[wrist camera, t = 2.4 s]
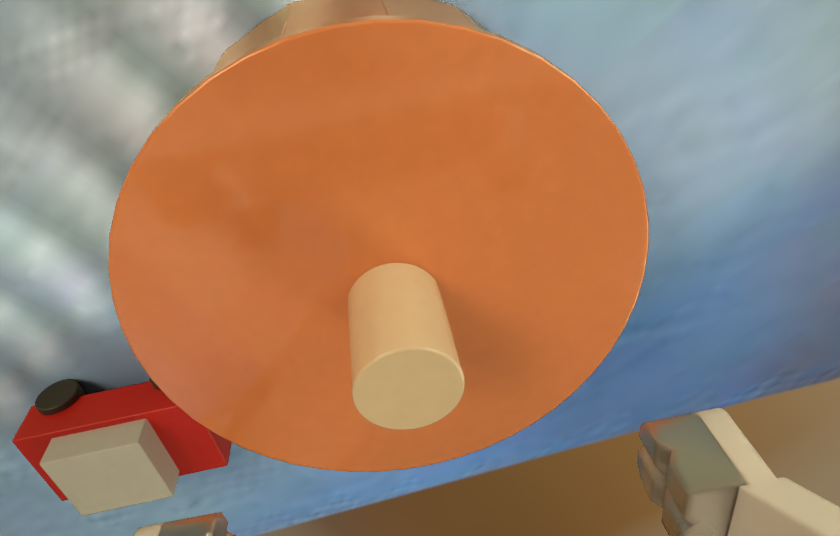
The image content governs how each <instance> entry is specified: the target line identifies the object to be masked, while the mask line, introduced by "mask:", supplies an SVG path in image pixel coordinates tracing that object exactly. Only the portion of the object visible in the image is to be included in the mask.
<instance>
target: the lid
mask: <svg viewBox="0 0 840 536" xmlns="http://www.w3.org/2000/svg"><path fill="white" fill-rule="evenodd" d="M648 248H649V218H648V212H647V205H646V199H645V193H644V187H643V184H642V181H641V178H640V175H639V172H638V169H637V166H636V163H635V160H634V158H633V156H632V154H631V152H630V150H629V148H628V146H627V144H626V142H625V140H624V139H623V137H622V135H621V133H620V131H619V129H618V128H617V127H616V125H615V124H614V123H613V121H612V120H611V119H610V117H609V116H608V115H607V114H606V112H605V111H604V110H603V108H602V107H601V106H600V104H599V103H598V102H597V101H596V100H595V99H594V98H593V97H592V96H591V95H590V94H589V93H587V92H586V91H585V90H584V89H583V88H582V87H581V86H580V85H579V84H578V83H577V82H576V81H575V80H574V79H573V78H572V77H570V76H569V75H568V74H566V73H565V72H564V71H562V70H561V69H559V68H558V67H556V66H555V65H553V64H552V63H551V62H549V61H548V60H546V59H545V58H543V57H542V56H540V55H539V54H538V53H536V52H534V51H532V50H530V49H528V48H526V47H524V46H522V45H520V44H518V43H516V42H514V41H512V40H510V39H507V38H505V37H503V36H501V35H499V34H495V33H492V32H489V31H486V30H483V29H479V28H476V27H473V26H470V25H467V24H463V23H460V22H453V21H447V20H441V19H435V18H428V17H422V16H389V15H373V16H365V17H357V18H349V19H341V20H333V21H328V22H325V23H321V24H317V25H313V26H310V27H306V28H302V29H299V30H295V31H291V32H288V33H285V34H283V35H281V36H279V37H276V38H274V39H272V40H269V41H267V42H265V43H262V44H260V45H258V46H255V47H253V48H251V49H248V50H247V51H245V52H243V53H242V54H240V55H239V56H237V57H235V58H234V59H232V60H230V61H229V62H227V63H226V64H224V65H222V66H221V67H219V68H217V69H216V70H214V71H213V72H211V73H210V74H209V75H208V76H206V77H205V78H204V79H203V80H202V81H201V82H199V83H198V84H197V85H196V86H195V87H193V88H192V89H191V90H190V91H189V92H188V93H186V94H185V95H184V96H183V97H182V98H181V99H180V100H179V101H178V102H177V103H176V104H175V105H174V107H173V108H172V109H171V110H170V111H169V112H168V114H167V115H166V116H165V117H164V118H163V119H162V121H161V122H160V123H159V124H158V125H157V126H156V127H155V129H154V130H153V132H152V133H151V134H150V136H149V138H148V139H147V141H146V143H145V144H144V146H143V147H142V149H141V151H140V152H139V154H138V156H137V157H136V159H135V160H134V162H133V164H132V165H131V167H130V169H129V172H128V174H127V177H126V179H125V182H124V184H123V187H122V189H121V192H120V194H119V196H118V199H117V202H116V206H115V211H114V216H113V220H112V225H111V230H110V234H109V261H108V269H109V276H110V284H111V291H112V299H113V302H114V305H115V308H116V312H117V315H118V318H119V322H120V325H121V328H122V330H123V332H124V334H125V336H126V338H127V340H128V342H129V344H130V347H131V349H132V351H133V353H134V355H135V356H136V358H137V359H138V361H139V362H140V363H141V365H142V366H143V368H144V369H145V371H146V372H147V374H148V375H149V377H150V378H151V379H152V380H153V381H154V383H155V384H156V385H157V386H158V387H159V388H160V389H161V390H162V391H163V392H164V393H165V395H166V396H167V397H168V398H169V399H170V400H171V401H172V402H173V403H175V404H176V405H177V406H178V407H179V408H181V409H182V410H183V411H184V412H185V413H186V414H188V415H189V416H190V417H191V418H192V419H194V420H195V421H197V422H198V423H200V424H201V425H203V426H205V427H206V428H208V429H209V430H211V431H212V432H214V433H215V434H217V435H219V436H221V437H223V438H225V439H227V440H229V441H231V442H233V443H235V444H237V445H239V446H240V447H243V448H245V449H248V450H251V451H253V452H256V453H258V454H261V455H264V456H266V457H269V458H273V459H277V460H280V461H284V462H288V463H291V464H295V465H301V466H306V467H312V468H318V469H325V470H337V471H349V472H378V471H389V470H401V469H409V468H414V467H420V466H426V465H432V464H436V463H440V462H443V461H447V460H451V459H455V458H459V457H462V456H464V455H467V454H470V453H473V452H476V451H478V450H481V449H484V448H486V447H489V446H491V445H493V444H495V443H497V442H500V441H502V440H504V439H506V438H508V437H510V436H512V435H514V434H516V433H517V432H519V431H521V430H523V429H524V428H526V427H528V426H530V425H532V424H533V423H535V422H536V421H538V420H539V419H540V418H542V417H543V416H545V415H546V414H548V413H549V412H551V411H552V410H553V409H555V408H556V407H557V406H558V405H560V404H561V403H562V402H563V401H564V400H566V399H567V398H568V397H569V396H570V395H571V394H573V393H574V392H575V391H576V390H577V389H578V388H579V387H580V386H581V385H582V384H583V383H584V382H585V381H586V380H587V379H588V378H589V377H590V376H591V374H592V373H593V372H594V371H595V370H596V369H597V368H598V366H599V365H600V364H601V362H602V361H603V360H604V358H605V357H606V356H607V355H608V353H609V352H610V351H611V349H612V348H613V346H614V344H615V343H616V341H617V339H618V338H619V336H620V334H621V333H622V331H623V330H624V328H625V326H626V324H627V322H628V319H629V317H630V315H631V313H632V310H633V308H634V306H635V304H636V301H637V298H638V295H639V291H640V288H641V285H642V281H643V278H644V274H645V268H646V261H647V254H648Z"/></svg>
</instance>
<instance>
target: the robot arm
mask: <svg viewBox="0 0 840 536" xmlns="http://www.w3.org/2000/svg"><path fill="white" fill-rule="evenodd" d="M639 437H640V439H641V441H642V443H643V447H642V448H641V449H640V450H639V451H638V468H639V473H640V477H641V480H642V482H643V485H644V487H645V489H646V492H647V494H648V496H649V498H650V500H651V501H653V502H654V503H656V504H657V505H659V506H660V507H662V508H663V514H662V523H663V525H664V527H665V529H666V531H667V533H668V535H669V536H840V507H838V506H836V505H835V504H833V503H831V502H829V501H827V500H826V499H824V498H822V497H820V496H818V495H816V494H815V493H813V492H811V491H809V490H807V489H805V488H804V487H802V486H800V485H798V484H796V483H795V482H793V481H791V480H789V479H787V478H786V477H782V478H776V477H775V475H774V474H773V473H772V471H771V470H770V469H769V467H768V466H767V465H766V463H765V462H764V461H763V460H762V458H761V457H760V455H759V454H758V453H757V452H756V450H755V449H754V448H753V446H752V445H751V444H750V442H749V441H748V440H747V438H746V437H745V436H744V434H743V433H742V432H741V430H740V429H739V428H738V426H737V425H736V424H735V422H734V421H733V420H732V419H731V417H730V416H729V415H728V413H727V412H726V411H724V410H723V409H722V408H714V409H710V410H705V411H701V412H696V413H688V414H683V415H679V416H674V417H670V418H666V419H661V420H657V421H652V422H648V423H643V424H642V425H641V427H640V432H639ZM227 525H228V521H227V520H226V518H225V517H224V515H223V514H222V512H219V513H214V514H208V515H203V516H198V517H192V518H187V519H182V520H176V521H171V522H165V523H160V524H155V525H150V526H145V527H140V528H139V529H138V530H137V531H136V533H135V534H134V536H236V535H234V534H232V533H229V532H227Z"/></svg>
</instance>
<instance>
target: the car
mask: <svg viewBox="0 0 840 536" xmlns="http://www.w3.org/2000/svg"><path fill="white" fill-rule="evenodd" d="M13 443H14V444H15V445H16V447H17V448H18V449H19V450H20V451H21V453H22V454H23V455H24V456H25V457H26V459H27V460H28V461H29V462H30V463H31V464H32V466H33V467H34V468H35V469H36V470H37V472H38V473H39V474H40V475H41V476H42V477H43V479H44V480H45V481H46V482H47V483H48V485H49V486H50V487H51V488H52V489H53V491H54V492H55V493H56V494H57V495H58V496H59V498H60V499H61V500H62V501H64V500H69V501H70V502H71V503H72V504H73V506H74V507H75V508H76V509H77V510H78V512H79V513H80V514H81V515H82V516H85V515H89V514H94V513H98V512H103V511H108V510H112V509H117V508H122V507H126V506H131V505H136V504H140V503H145V502H149V501H154V500H159V499H163V498H168V497H172V496H173V495H174V491H175V487H176V483H177V479H178V476H181V475H185V474H190V473H195V472H199V471H204V470H209V469H213V468H218V467H223V466H227V465H228V461H229V455H230V449H231V443H232V442H231V441H229V440H227V439H225V438H223V437H221V436H219V435H217V434H215V433H214V432H212V431H211V430H209V429H208V428H206V427H205V426H203V425H201V424H200V423H198V422H197V421H195V420H194V419H192V418H191V417H190V416H189V415H188V414H186V413H185V412H184V411H183V410H182V409H181V408H179V407H178V406H177V405H176V404H175V403H173V402H172V401H171V400H170V399H169V398H168V397H167V396H166V395H165V393H164V392H163V391H162V390H161V389H160V388H159V387H158V386H157V385H156V384H155V383H154V381H153V380H152V379H151V378H150V381H149V382H144V383H140V384H135V385H130V386H125V387H121V388H116V389H111V390H106V391H102V392H97V393H92V394H87V395H85V392H84V391H83V389H82V388H81V386H80V385H79V383H78V382H77V381H75V380H70V379H68V380H62V381H59V382H57V383H54V384H52V385H51V386H49V387H48V388H46V389H45V390H44V391H42V392H41V393H40V395H39V396H38V397H37V399H36V402H35V406H32V407H31V408H30V410H29V412H28V414H27V415H26V417H25V419H24V421H23V423H22V424H21V426H20V428H19V430H18V432H17V433H16V435H15V437H14V439H13Z"/></svg>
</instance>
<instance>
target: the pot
mask: <svg viewBox="0 0 840 536" xmlns="http://www.w3.org/2000/svg"><path fill="white" fill-rule="evenodd" d="M373 15H389V16H422V17H428V18H435V19H441V20H447V21H453V22H460V23H463V24H467V25H470V26H473V27H476V28H479V29H483V30H485V29H484V28H483V27H482V26H480V25H479V24H478V23H476V22H475V21H474V20H473V19H471V18H470V17H469V16H468V15H466V14H465V13H464V12H462V11H461V10H460V9H459V8H457V7H455V6H453V5H451V4H447V3H442V2H438V1H435V0H301V1H296V2H293V3H292V4H288V5H287V6H286V7H284V8H283V9H281V10H280V11H279V12H277V13H276V14H274V15H272V16H271V17H269V18H268V19H266V20H264V21H263V22H261V23H260V24H258V25H257V26H256V27H255V28H254V29H252V30H251V31H250V32H249V33H248V34H246V35H245V36H244V37H243V38H242V39H240V40H239V41H238V42H236V43H235V44H234V45H232V46H231V47H229V48H228V49H227V50H226V51H225V53H223V55H222V57H221V58H220V60H219V62H218V63H217V65H216V67H215V68H214V70H216V69H217V68H219V67H221V66H222V65H224V64H226V63H227V62H229V61H230V60H232V59H234V58H235V57H237V56H239V55H240V54H242V53H243V52H245V51H247V50H248V49H251V48H253V47H255V46H258V45H260V44H262V43H265V42H267V41H269V40H272V39H274V38H276V37H279V36H281V35H283V34H285V33H288V32H291V31H295V30H299V29H302V28H306V27H310V26H313V25H317V24H321V23H325V22H328V21H333V20H341V19H349V18H357V17H365V16H373ZM214 70H213V71H214Z"/></svg>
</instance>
